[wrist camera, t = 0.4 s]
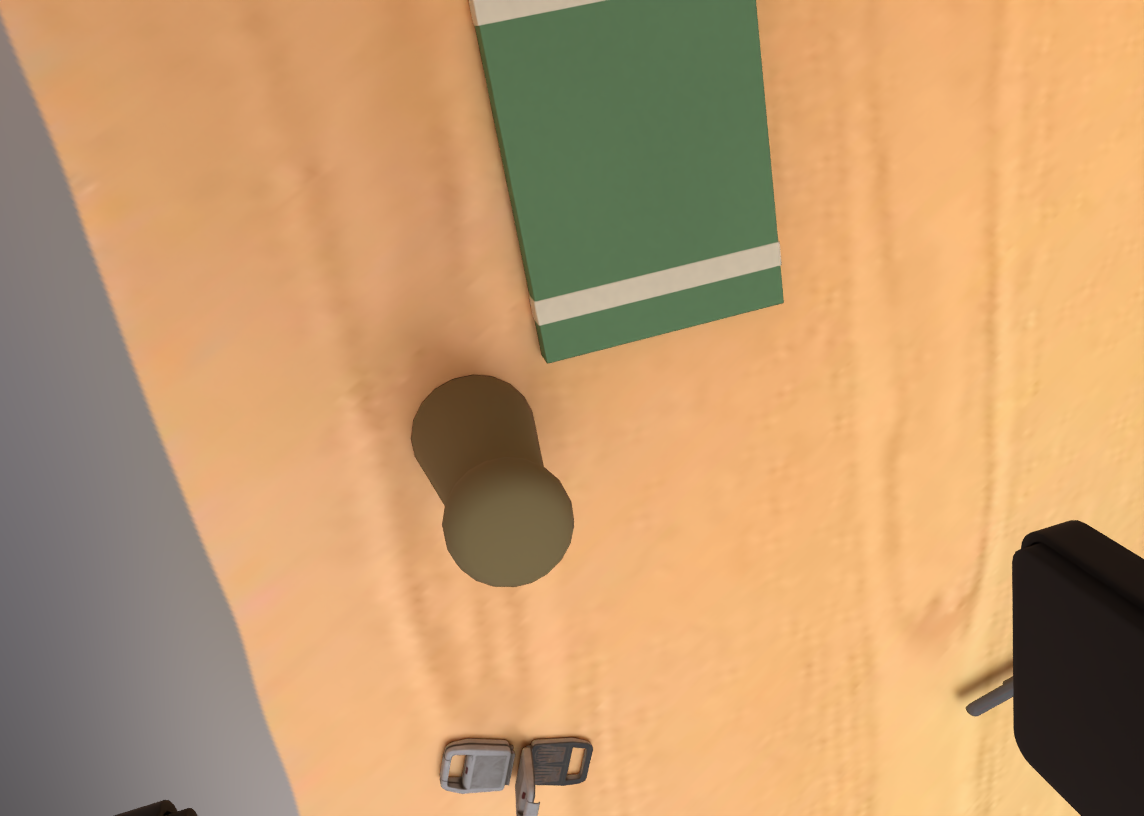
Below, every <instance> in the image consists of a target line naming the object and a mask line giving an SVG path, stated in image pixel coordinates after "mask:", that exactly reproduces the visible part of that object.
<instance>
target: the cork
mask: <svg viewBox="0 0 1144 816" xmlns="http://www.w3.org/2000/svg"><path fill="white" fill-rule="evenodd" d="M411 441H412V446H413V450H414V455H415V457H416V459H417V461H418V462H419V464H420V466H421V467H422V469H423V471H424V472H425V474H426V476H427V477H428V479H429V480H430V482H431V484H432V485H433V487H434V489H435V490H436V492H437V494H438V495H439V497H440V499H441V500H442V502H443V504H444V505H445V509H444V515H443V522H442V527H443V531H444V536H445V541H446V545H447V550H448V551H449V553H450V554H451V556H452V558H453V559H454V561H455V562H456V564H457V565H458V566H459V567H460V569H461V570H462V571H464V572H465V573H466V574H468V575H469V576H470V577H472V578H473V579H474V580H476V581H478V582H481V583H484V584H487V585H490V586H493V587H517V586H521V585H525V584H529V583H532V582H534V581H536V580H538V579H539V578H541V577H543V576H545V575H546V574H548V573H549V572H550V571H551V570H552V569H553V568H554V567H555V566H556V565H557V564H558V563H559V562H560V561H561V560H562V558H563V556H564V554H565V553H566V551H567V549H568V547H569V545H570V543H571V539H572V534H573V528H574V517H573V510H572V504H571V500H570V498H569V497H568V495H567V493H566V491H565V490H564V488H563V486H562V484H561V482H560V481H559V479H558V478H556V477H555V476H554V475H553V474H552V473H550V472H549V471H548V470H547V469H546V468H545V467H544V466H543V461H542V456H541V451H540V446H539V441H538V437H537V432H536V427H535V422H534V417H533V412H532V410H531V408H530V406H529V405H528V403H527V401H526V399H525V397H524V396H523V395H522V394H521V393H520V392H519V391H517V390H516V389H515V388H514V387H513V386H512V385H511V384H509V383H506V382H504V381H502V380H499V379H497V378H495V377H491V376H480V375H470V376H465V377H461V378H456V379H453V380H451V381H449V382H447V383H445V384H443V385H442V386H440V387H438V388H436V389H435V390H434V391H433V392H432V393H431V394H430V395H429V396H428V397H427V398H426V399H425V400H424V401H423V402H422V404H421V406H420V408H419V410H418V412H417V414H416V416H415V418H414V420H413V427H412V435H411Z"/></svg>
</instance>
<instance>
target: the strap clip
mask: <svg viewBox="0 0 1144 816" xmlns="http://www.w3.org/2000/svg"><path fill="white" fill-rule="evenodd" d="M573 747H576V748H585V753H584V757H583V762H582V766H581V770H580V773H579V774H577V775H567V771H568V767H569V762H570V758H571V753H572V749H573ZM592 751H593V747H592V744H591V743H590V742H588V741H586V740H581V739H576V738H556V739H541V740H534V741H532V743H531V745H530V746H528V745H527V746H526V748H523V750H522V753H521V758H520V763H519V768H518V773H517V778H516V783H515V794H516V815H517V816H537V814H538V810H539V805H540V802H539V803H534V798H535V785H561V786H565V785H572V784H579V783H581V782H583V781H585V779H586V778H587V773H588V768H589V764H590V760H591V756H592ZM454 755H466V757H465V762H464V768H463V774H462V777H448V775H449V769H450V763H451V759H452V756H454ZM514 757H515V752H514V751H513V745H511V746H509V743H508V742H507V741H506V740H492V739H464V740H459V741H455V742H452V743H450V744H448V745H447V746H446V748H445V751H444V754H443V759H442V764H441V770H440V783H441V787H442V788H443V789H445V790H447V791H451V792H456V793H461V794H465V793H477V792H490V791H501V790H503V789H504V786H505V785H509V783H510V778H511V773H512V768H513V762H514Z"/></svg>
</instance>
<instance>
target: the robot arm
mask: <svg viewBox="0 0 1144 816" xmlns="http://www.w3.org/2000/svg"><path fill="white" fill-rule="evenodd" d="M1012 590H1013V711H1014V736H1015V739H1016V742H1017V745H1018V747H1019V749H1020V751H1021V753H1022V755H1023V756H1024V758H1025V759H1026V760H1027V762H1028V763H1029V764H1030V765H1031V766H1032V767H1033V768H1034V769H1035V770H1036V771H1037V772H1038V773H1039V774H1040V775H1041V776H1042V777H1043V778H1044V779H1045V780H1046V781H1047V782H1048V783H1049V784H1050V785H1051V786H1052V787H1053V788H1054V789H1055V790H1056V791H1057V792H1058V793H1059V794H1060V795H1061V796H1062V797H1063V798H1064V799H1065V800H1066V801H1067V802H1068V803H1069V804H1070V805H1071V806H1072V807H1073V808H1074V809H1075V810H1076V811H1077V812H1078V813H1079V814H1080V815H1081V816H1144V559H1143V558H1141V557H1139V556H1138V555H1136V554H1134V553H1133V552H1131V551H1130V550H1128V549H1126V548H1125V547H1123V546H1121V545H1120V544H1118V543H1117V542H1115V541H1113V540H1112V539H1110V538H1108V537H1107V536H1105V535H1103V534H1102V533H1100V532H1099V531H1097V530H1095V529H1094V528H1092V527H1090V526H1089V525H1087V524H1085V523H1083V522H1080V521H1078V520H1070V521H1067V522H1064V523H1061V524H1057V525H1054V526H1051V527H1048V528H1045V529H1041V530H1038V531H1035V532H1032V533H1029V534H1028V535H1026V536H1025V537H1024V539H1023V541H1022V545H1021V549H1020V550H1018V551H1016V552H1015V554H1014V556H1013V561H1012ZM115 816H197V814H196V812H195V811H194V810H193V809H192V808H187V809H184V810H181V811H177V809H176V808H175V806H174V804H172V803H171V802H170V801H169V800H163V801H160V802H157V803H153V804H150V805H147V806H144V807H140V808H137V809H134V810H131V811H128V812H125V813H121V814H118V815H115Z"/></svg>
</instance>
